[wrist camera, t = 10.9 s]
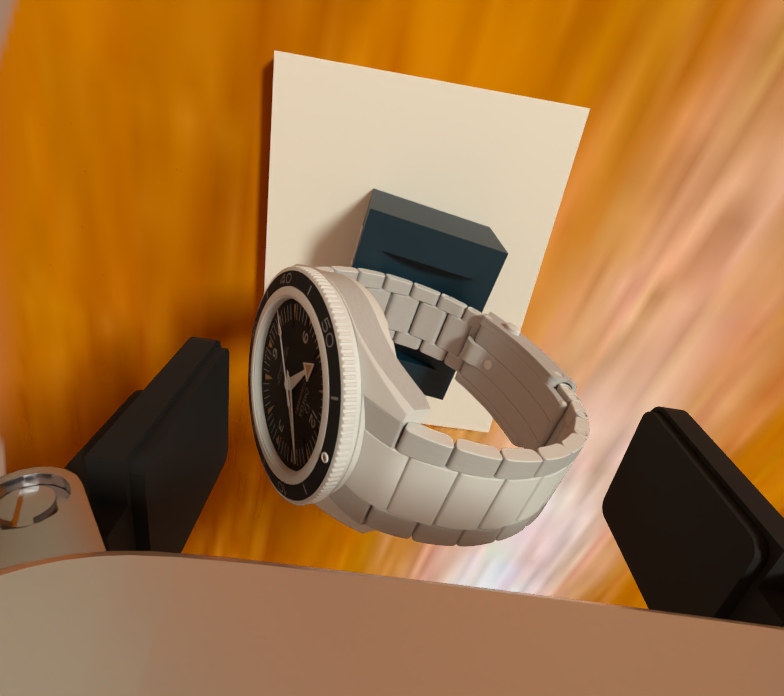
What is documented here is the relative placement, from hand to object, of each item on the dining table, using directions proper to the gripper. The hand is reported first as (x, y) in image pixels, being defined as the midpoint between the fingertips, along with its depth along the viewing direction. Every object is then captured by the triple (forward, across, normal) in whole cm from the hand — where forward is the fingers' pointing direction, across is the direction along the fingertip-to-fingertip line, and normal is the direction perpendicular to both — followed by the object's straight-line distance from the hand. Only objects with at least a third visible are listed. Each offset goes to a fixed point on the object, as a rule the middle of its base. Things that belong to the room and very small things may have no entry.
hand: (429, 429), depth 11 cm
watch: (+9, +1, 0) cm, 9 cm away
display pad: (+9, +1, -1) cm, 9 cm away
